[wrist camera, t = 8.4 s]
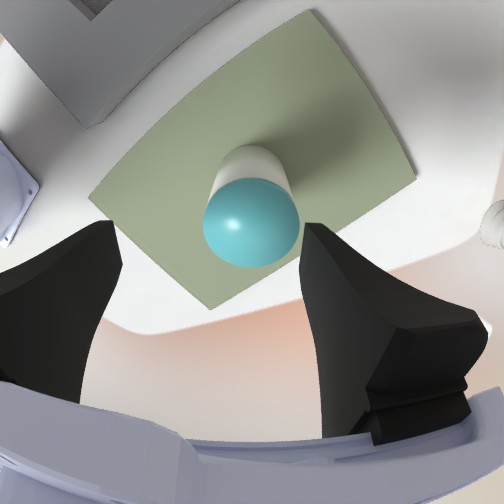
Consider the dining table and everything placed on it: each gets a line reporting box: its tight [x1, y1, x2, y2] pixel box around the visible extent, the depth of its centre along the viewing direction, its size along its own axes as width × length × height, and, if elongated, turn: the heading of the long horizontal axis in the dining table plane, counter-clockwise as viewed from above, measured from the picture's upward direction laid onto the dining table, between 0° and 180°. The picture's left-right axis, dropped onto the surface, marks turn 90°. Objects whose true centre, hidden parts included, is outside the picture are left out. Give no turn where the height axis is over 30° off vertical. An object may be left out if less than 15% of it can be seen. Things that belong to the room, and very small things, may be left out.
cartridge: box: [203, 145, 300, 268], centre depth 17 cm, size 4×4×7 cm
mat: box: [88, 9, 417, 310], centre depth 20 cm, size 20×14×1 cm
